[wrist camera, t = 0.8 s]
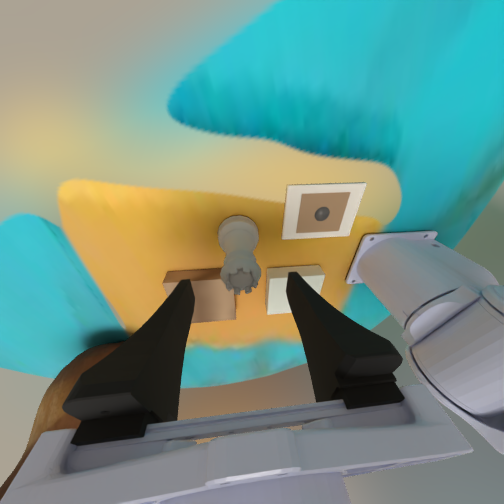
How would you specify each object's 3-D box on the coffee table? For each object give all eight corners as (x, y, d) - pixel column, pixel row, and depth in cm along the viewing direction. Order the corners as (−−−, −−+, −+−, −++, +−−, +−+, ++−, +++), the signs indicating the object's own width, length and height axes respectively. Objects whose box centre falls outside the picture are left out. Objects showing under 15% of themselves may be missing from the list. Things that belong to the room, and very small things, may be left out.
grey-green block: (319, 264, 24) (325, 274, 22) (309, 299, 28) (314, 310, 26) (267, 268, 23) (269, 278, 22) (265, 303, 27) (267, 314, 26)
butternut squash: (69, 355, 30) (-258, 820, 10) (99, 316, 26) (-416, 1057, 5) (149, 373, 37) (47, 682, 16) (186, 344, 32) (105, 732, 11)
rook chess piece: (211, 220, 19) (201, 269, 12) (252, 208, 19) (263, 252, 12) (225, 253, 22) (223, 308, 15) (261, 243, 21) (275, 295, 15)
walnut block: (232, 267, 23) (232, 278, 21) (235, 307, 27) (236, 319, 26) (167, 271, 22) (162, 283, 21) (182, 312, 27) (179, 324, 25)
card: (364, 182, 18) (368, 183, 18) (346, 234, 22) (349, 236, 21) (286, 184, 18) (288, 186, 17) (281, 237, 21) (282, 240, 20)
